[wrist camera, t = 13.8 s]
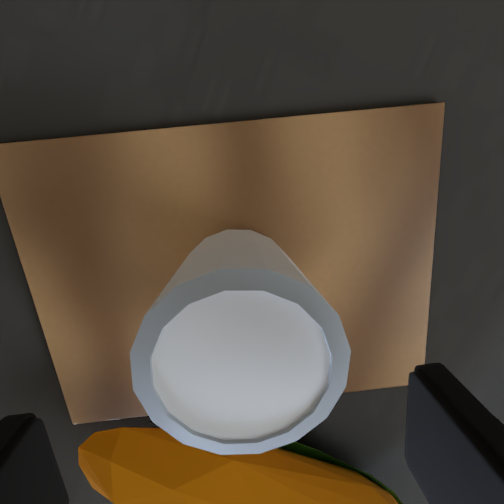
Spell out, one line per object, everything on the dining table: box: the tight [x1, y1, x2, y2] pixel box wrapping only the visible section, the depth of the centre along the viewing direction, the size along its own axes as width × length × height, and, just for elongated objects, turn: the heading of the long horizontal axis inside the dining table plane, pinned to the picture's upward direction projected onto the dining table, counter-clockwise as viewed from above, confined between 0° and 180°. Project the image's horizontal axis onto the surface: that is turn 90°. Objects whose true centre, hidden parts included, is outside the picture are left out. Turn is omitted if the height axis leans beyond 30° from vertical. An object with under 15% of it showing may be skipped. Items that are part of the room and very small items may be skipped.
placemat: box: [0, 102, 445, 424], centre depth 17 cm, size 20×15×1 cm
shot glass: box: [130, 229, 351, 455], centre depth 14 cm, size 7×7×7 cm
